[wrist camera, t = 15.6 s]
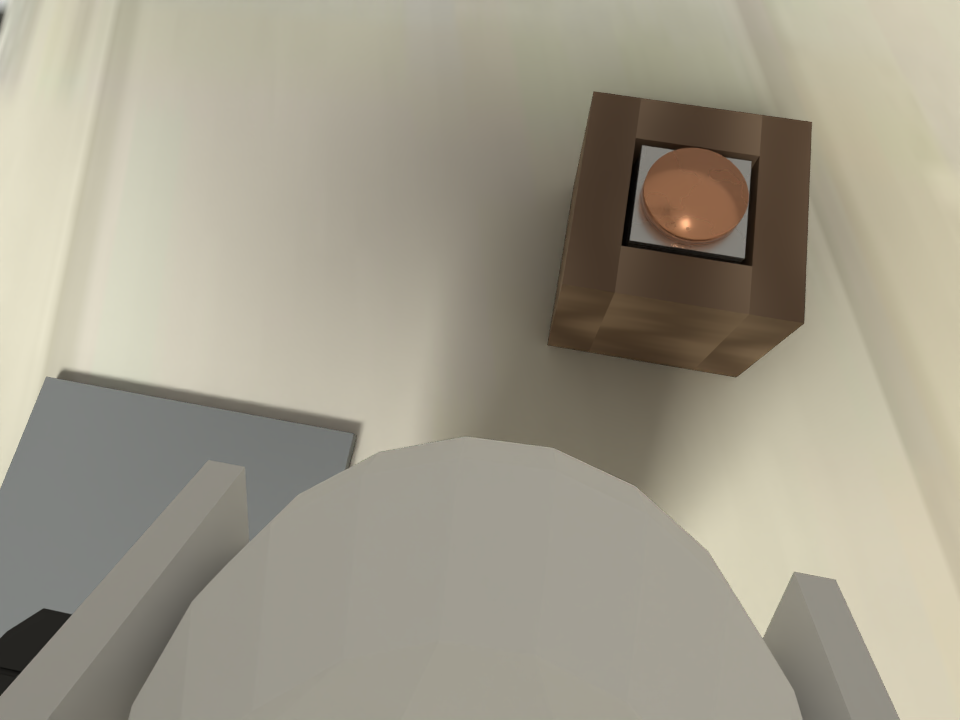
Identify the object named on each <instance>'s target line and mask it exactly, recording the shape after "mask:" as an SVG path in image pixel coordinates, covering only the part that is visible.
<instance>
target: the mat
mask: <svg viewBox="0 0 960 720" xmlns="http://www.w3.org/2000/svg"><path fill="white" fill-rule="evenodd" d="M355 440H356V435H355V434H354V433H348V432H343V431H338V430H332V429H327V428H321V427H316V426H311V425H305V424H300V423H294V422H289V421H284V420H278V419H273V418H267V417H262V416H256V415H251V414H246V413H240V412H235V411H229V410H224V409H219V408H213V407H208V406H202V405H197V404H192V403H186V402H181V401H175V400H170V399H165V398H159V397H154V396H148V395H143V394H137V393H132V392H127V391H121V390H116V389H110V388H105V387H100V386H94V385H89V384H83V383H78V382H73V381H67V380H62V379H56V378H51V377H46V379H45V381H44V384H43V386H42V388H41V391H40V393H39V396H38V398H37V401H36V403H35V406H34V408H33V410H32V413H31V415H30V418H29V420H28V423H27V425H26V428H25V430H24V432H23V435H22V437H21V440H20V442H19V445H18V447H17V450H16V452H15V454H14V457H13V459H12V462H11V464H10V467H9V469H8V472H7V474H6V476H5V479H4V481H3V484H2V486H1V489H0V638H1V637H2V636H3V635H4V634H5V633H6V632H7V631H8V630H10V629H11V628H13V627H15V626H16V625H18V624H19V623H21V622H22V621H24V620H26V619H27V618H29V617H30V616H32V615H34V614H35V613H37V612H38V611H40V610H41V609H43V608H45V609H50V610H55V611H59V612H64V613H69V614H73V613H74V612H75V611H76V610H77V609H78V607H79V606H80V605H81V604H82V603H83V602H84V601H85V599H86V598H87V597H88V596H89V595H90V594H91V593H92V592H93V590H94V589H95V588H96V587H97V586H98V585H99V584H100V582H101V581H102V580H103V579H104V578H105V577H106V576H107V575H108V573H109V572H110V571H111V570H112V569H113V568H114V567H115V565H116V564H117V563H118V562H119V561H120V560H121V559H122V558H123V556H124V555H125V554H126V553H127V552H128V551H129V550H130V548H131V547H132V546H133V545H134V544H135V543H136V542H137V541H138V539H139V538H140V537H141V536H142V535H143V534H144V533H145V531H146V530H147V529H148V528H149V527H150V526H151V525H152V524H153V522H154V521H155V520H156V519H157V518H158V517H159V516H160V514H161V513H162V512H163V511H164V510H165V509H166V508H167V506H168V505H169V504H170V503H171V502H172V501H173V500H174V499H175V497H176V496H177V495H178V494H179V493H180V492H181V491H182V489H183V488H184V487H185V486H186V485H187V484H188V483H189V482H190V480H191V479H192V478H193V477H194V476H195V475H196V474H197V472H198V471H199V470H200V469H201V468H202V467H203V466H204V465H205V463H206V462H207V461H208V460H211V461H217V462H222V463H227V464H232V465H238V466H243V467H245V476H246V493H247V510H248V527H249V542H250V541H251V540H252V539H253V538H254V537H255V536H256V535H257V534H258V533H259V532H260V531H261V530H262V529H263V528H264V527H265V526H266V525H267V524H268V523H269V522H270V521H271V520H273V519H274V518H275V517H276V516H277V515H278V514H279V513H280V512H281V511H282V510H283V509H284V508H285V507H286V506H287V505H288V504H289V503H290V502H291V501H292V500H293V499H294V498H295V497H296V496H297V495H298V494H300V493H302V492H304V491H306V490H308V489H310V488H312V487H313V486H315V485H317V484H319V483H321V482H323V481H325V480H327V479H329V478H331V477H332V476H334V475H336V474H338V473H340V472H342V471H344V470H346V469H348V468H349V464H350V460H351V456H352V452H353V448H354V444H355Z"/></svg>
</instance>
